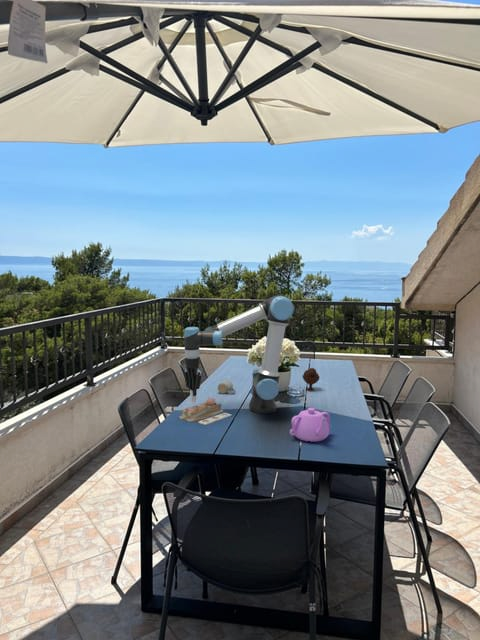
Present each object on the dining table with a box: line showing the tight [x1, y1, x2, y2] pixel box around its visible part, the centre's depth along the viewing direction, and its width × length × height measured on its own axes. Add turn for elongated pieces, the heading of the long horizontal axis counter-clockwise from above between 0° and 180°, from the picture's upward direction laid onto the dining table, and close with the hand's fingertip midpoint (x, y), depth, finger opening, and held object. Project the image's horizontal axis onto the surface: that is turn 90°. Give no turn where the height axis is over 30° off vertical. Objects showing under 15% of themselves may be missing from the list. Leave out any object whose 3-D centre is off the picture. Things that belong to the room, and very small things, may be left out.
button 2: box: [206, 397, 216, 406], centre depth 251 cm, size 5×5×4 cm
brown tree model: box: [302, 367, 320, 392], centre depth 299 cm, size 11×11×15 cm
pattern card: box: [197, 412, 232, 426], centre depth 240 cm, size 5×20×1 cm, turn 140°
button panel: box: [178, 401, 224, 423], centre depth 246 cm, size 10×23×4 cm, turn 140°
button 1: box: [187, 406, 197, 412], centre depth 241 cm, size 5×5×4 cm
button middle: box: [196, 403, 206, 409], centre depth 246 cm, size 5×5×4 cm
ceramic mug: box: [217, 379, 236, 395], centre depth 291 cm, size 11×8×8 cm
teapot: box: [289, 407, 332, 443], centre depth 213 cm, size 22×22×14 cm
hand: (193, 401), depth 240 cm, fingers closed
